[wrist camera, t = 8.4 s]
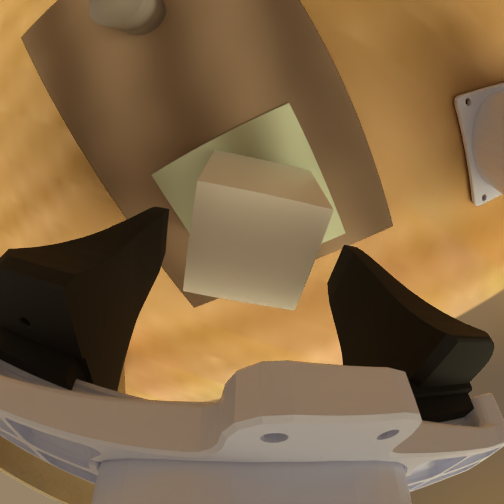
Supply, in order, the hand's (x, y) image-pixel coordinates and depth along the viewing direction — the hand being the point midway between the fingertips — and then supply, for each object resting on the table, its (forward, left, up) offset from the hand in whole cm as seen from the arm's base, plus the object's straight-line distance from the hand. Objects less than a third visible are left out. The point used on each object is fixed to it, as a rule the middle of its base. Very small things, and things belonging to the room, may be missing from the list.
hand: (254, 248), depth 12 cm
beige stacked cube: (0, 0, -5) cm, 5 cm away
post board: (0, -6, -6) cm, 9 cm away
